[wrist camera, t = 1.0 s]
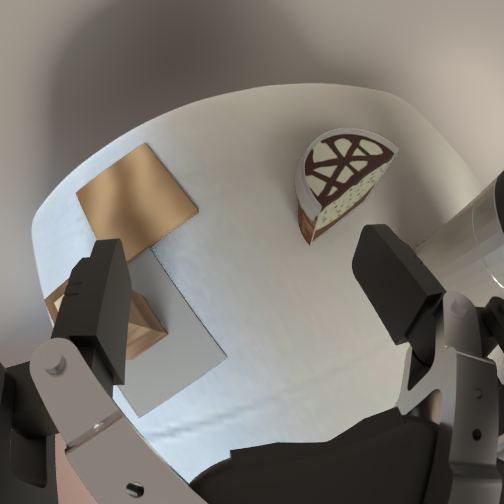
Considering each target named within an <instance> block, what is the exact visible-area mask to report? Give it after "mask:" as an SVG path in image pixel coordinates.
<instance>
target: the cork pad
mask: <svg viewBox="0 0 504 504" xmlns="http://www.w3.org/2000/svg"><path fill="white" fill-rule="evenodd" d="M76 195H77V197H78V200H79V202H80V204H81V206H82V209H83V211H84V213H85V215H86V217H87V220H88V222H89V224H90V226H91V228H92V230H93V232H94V234H95V236H96V238H97V240H105V239H117V238H119V239H120V240H121V242H122V245H123V249H124V254H125V258H126V262H127V263H129V262H130V261H131V260H133V259H134V258H135V257H136V256H138V255H139V254H140V253H142V252H143V251H144V250H146V249H147V248H148V247H149V248H150V247H151V246H152V245H154V244H155V243H156V242H158V241H159V240H160V239H162V238H163V237H165V236H166V235H167V234H169V233H170V232H171V231H173V230H174V229H176V228H177V227H178V226H180V225H181V224H183V223H184V222H185V221H187V220H188V219H190V218H191V217H193V216H194V215H195V214H197V213H198V210H197V209H196V207H195V206H194V205H193V203H192V202H191V201H190V200H189V198H188V197H187V196H186V195H185V193H184V192H183V191H182V190H181V188H180V187H179V186H178V184H177V183H176V182H175V181H174V179H173V178H172V177H171V176H170V174H169V173H168V172H167V170H166V169H165V168H164V167H163V165H162V164H161V163H160V161H159V160H158V159H157V158H156V156H155V155H154V154H153V152H152V151H151V150H150V149H149V147H148V146H147V145H146V143H144V144H143V145H141V146H140V147H138V148H137V149H135V150H134V151H132V152H131V153H129V154H128V155H126V156H125V157H123V158H122V159H120V160H119V161H118V162H116V163H115V164H113V165H112V166H111V167H109V168H108V169H106V170H105V171H104V172H102V173H101V174H100V175H98V176H97V177H96V178H94V179H93V180H92V181H90V182H89V183H88V184H87V185H85V186H84V187H83V188H81V189H80V190H79V191H78V192H76Z"/></svg>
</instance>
